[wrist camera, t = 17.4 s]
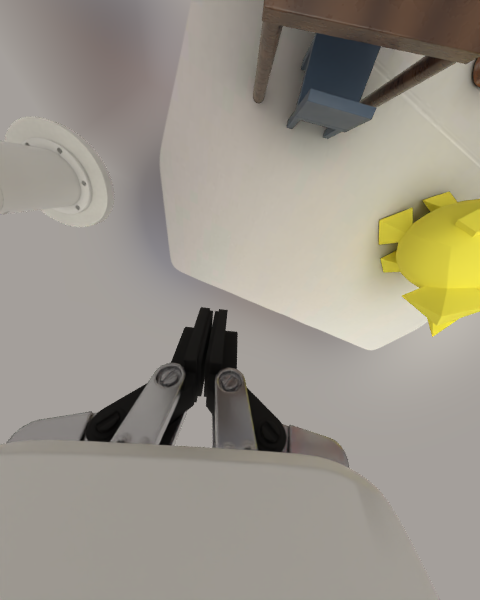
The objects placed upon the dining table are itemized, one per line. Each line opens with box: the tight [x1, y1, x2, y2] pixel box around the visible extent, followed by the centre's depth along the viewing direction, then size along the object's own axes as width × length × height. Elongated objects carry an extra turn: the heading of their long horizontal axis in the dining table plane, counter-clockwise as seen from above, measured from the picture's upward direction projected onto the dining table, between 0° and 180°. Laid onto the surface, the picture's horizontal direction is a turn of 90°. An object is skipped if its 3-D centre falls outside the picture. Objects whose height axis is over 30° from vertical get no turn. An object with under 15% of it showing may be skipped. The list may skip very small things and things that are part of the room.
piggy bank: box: [379, 192, 480, 337], centre depth 33 cm, size 20×20×19 cm
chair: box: [287, 33, 381, 139], centre depth 24 cm, size 8×8×12 cm
